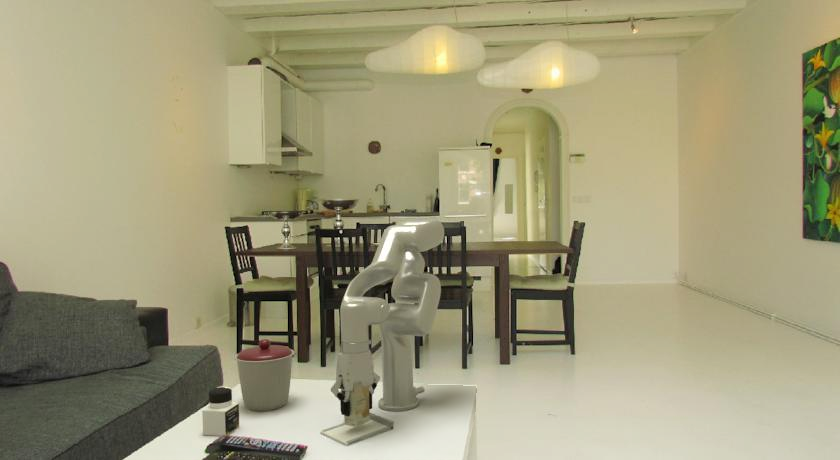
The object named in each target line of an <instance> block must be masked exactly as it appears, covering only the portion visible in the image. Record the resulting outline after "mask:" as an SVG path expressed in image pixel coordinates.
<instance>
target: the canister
mask: <svg viewBox="0 0 840 460" xmlns="http://www.w3.org/2000/svg"><path fill="white" fill-rule="evenodd" d="M294 355H295V350H293V349H291V348H290V347H288V346H285V345H280V344H279V345H278V344H271V341H270V339H266V338H263V339H260V340H259V342H258V346H256V345H255V346H253V347H248V348H246V349H245V348H244V349H242V350H241V351H240V352H238V353H237V354H236V355H235V356H234V360H235V361H236V362H237V370H238V376H239V383H240V391H241V397H242V401H243V404H244V406H245V407H246V408H247V409H248V410H250V411H255V412H265V411H266V412H267V411H273V410H277V409H280V408H281V407H283V406H284V405H286V403H287V401H288V400H289V395H290V387H291V377H292V365H293V356H294Z"/></svg>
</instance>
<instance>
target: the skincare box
mask: <svg viewBox="0 0 840 460" xmlns="http://www.w3.org/2000/svg"><path fill="white" fill-rule="evenodd" d="M344 395H345V394H344ZM348 401H349V402H350V416H348V417H347V416H345V415H343V416H344V417H343V418H344V419H343V422H344V424H345V425H348V426H353V427H358V426H360V425H362V424H364V423H366V422H368V421H370V413H371V411H370V410H371V409H369V386H368V387H364V386H363V385H362V382H361V381H358V382H354V388H353V391H351V392H350V395H349V398H348Z"/></svg>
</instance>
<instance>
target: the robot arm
mask: <svg viewBox="0 0 840 460" xmlns="http://www.w3.org/2000/svg"><path fill="white" fill-rule="evenodd" d="M444 237H445V228H444V226H443V223H442V222H441V221H440V220H437V219H407V220H402V221H399V222H397V223H396V224H393V225H390V226H387V227H386V228H385V229H384V231H383V233H382V236H381V239H380V241H379V243H378V246H377V248H376V251H375V254H374V255H373V256H374V257H373V259H372V261H371V263H370V265H368V266H366V267H364V269H362V270H361V271H360V272H359V273H358V274H357V275H356V276H355V277H354V278H353V279H352V280H351V281H350V282H349V283H348V286H347V288H346V290H345V293H344V295H343V298H342V300H341V303H340V304H341V305H340V308H339V309H340V311H339V312H340V313H339V314H340V345H341V346H340V347H341V351H340V352H339V353H338V356H337V361H336V369H335V370H336V372H335V373H336V374H335V382H334V384H333V385H332V386H331V387H330V392H331V393H332V394H333V395H334V397H335V398H337V399H338V401H339V403H340V413H341V415H342V416H344V415H345V416H347V417H348V416H350V402H349V401H348V398H349V395H350V392H351V391H353V388H354V382H358V381H361V382H362V385H363V386H364V387H368V386H369V410H372V409H373V394H374V393H375V389H376V388H377V386H378V384H379V381H380V380H381V377H380V375H378V374H377V373H376V372H375V370H374V369H375V368H374V361H373V356H372V352H371V351H372V350H371V349H370V345H372V340H371V339H369V337H370V336H369V326H373V325H378V330H379V333H380V334H379V335H380V342H381V365H382V366H381V368H382V369H381V370H382V372H381V373H382V397H381V398H380V399H379V400H378V401H377V403H378V404H377V405H378V408H380V409H382V410H386V411H391V412H399V411H400V412H402V411H408V410H411V409H412V410H413V409H414V408H416V407H417V406H418V405H419V398H418V397H417V396H418V395H419V394H422V393H425V388H424V386H419V387H416V386H414V366H413V365H414V364H413V363H414V361H413V345H412V343H411V341H410V340H411V339H409V337H408V336H412V337H413V336H415V337H424V336H427V335H429V333H430V332H432V329H433V326H434V323H435V318H436V314H437V311H438V306H439V303H440V299H441V292H442V288H441V287H442V286H441V280H440V279H439V277H438V276H436V275H435V274H432V273H425V272H424V270H425V266H426V261H425V259H424V257H423V255H422V252H427V251H428V250H431V249H433V248H435V247H439V245H441V243H442V242H443V240H444V239H445V238H444ZM392 279H393V282H392V285H391V291H390V292H391V297H392V298H393V300H395V301H396V302H390V303H388V301H387V300H386V299H384V298H381V297H373V296H372V297H371V296H364V295H365V294H366V292H367V291H369V290H370V289H372V288H374V287H375V286H377V285H380V284H383V283H386V282H388V281H390V280H392ZM344 394H345V395H344Z"/></svg>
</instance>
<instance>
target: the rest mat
mask: <svg viewBox="0 0 840 460" xmlns="http://www.w3.org/2000/svg"><path fill="white" fill-rule="evenodd" d="M394 426H395V425H394V421H393V420H391V419H387V418H385V417H383V416H380V415H377V414H374V413H373V412H370V421H368V422H366V423H364V424H362V425H360V426H358V427H353V426H348V425H345V424H344V423H340V424H338V425H335V426H331V427H329V428H326V429H323V430H320V431H319V433H320V435H321V436H324V437H326V438H329V439H331V440H333V441H335V442H337V443H338V444H339V443H340V444H341V445H343V446H346V447H347V446H351V445H353V444H357V443H359V442H360V441H364V440H367V439H369V438H373V437H375V436H377V435H380V434H383V433H386V432H388V431H391V430H394V429H395V427H394Z"/></svg>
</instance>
